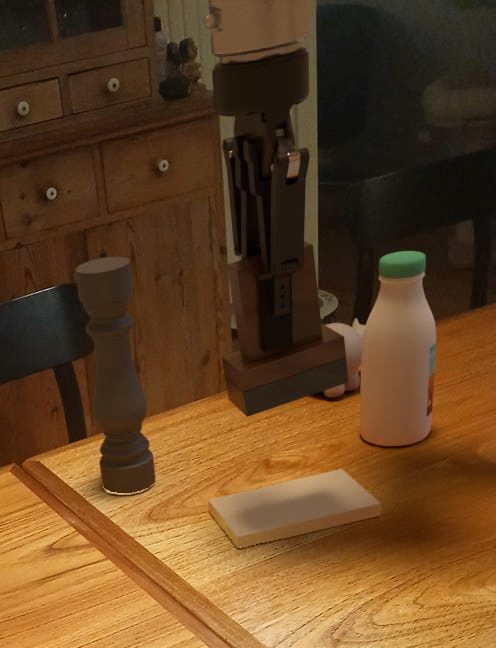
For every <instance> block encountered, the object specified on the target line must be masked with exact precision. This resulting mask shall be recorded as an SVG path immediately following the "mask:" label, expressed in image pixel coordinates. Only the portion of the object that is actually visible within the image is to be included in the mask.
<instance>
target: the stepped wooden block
mask: <svg viewBox="0 0 496 648" xmlns="http://www.w3.org/2000/svg"><path fill="white" fill-rule="evenodd" d="M226 267H227V275H228V280H229V287H230V295H231V299H232V307H233V311H234V318H235V325H236V332H237V338H238V344H239V350H237V351H234V352H231V353H228V354H225V355H223V356H221V362H222V368H223V373H224V380H225V387H226V392H227V398H228V401H229V402H230V403H232V404H233V405H234V406H235V407H236V408H237V409H238V410H239V411H240V412H241V413H242V414H243V415H245V417H247V418H248V417H252V416H254V415H257V414H260V413H263V412H265V411H268V410H271V409H272V410H273V409H274V408H277V407H280V406H283V405H286V404H290V403H293V402H295V401H298V400H301V399H304V398H307V397H310V396H313V395H316V394H318V393H322V392H324V391H325V390H328V389H331V388H333V387H336V386H339V385H342V384H345V383H348V371H347V360H346V351H345V340H344V336H342V335H341V334H339V333H337V332H336V331H334V330H332V329H331V328H329V327H327V326H326V325H327V324H325V323H322V317H321V308H320V298H319V289H318V288H319V287H318V280H317V271H316V270H317V269H316V260H315V251H314V245H313V244H311V243H309V242H308V241H305V240H304V263H303V269H302V270H301V271H297V272H294V273H293V274H291V281H292V322H293V346H290V347H286V348H281V349H277V350H273V351H269V352H263V351H262V346H261V323H260V299H259V282H257V281H256V278H255V274H258V273H262V272H263V268H262V256H261V253H260V254H257V255H254V256H251V257H249V258H246V259H243V260H241V259H240V260H237V261H234V262H231V263H228V264H227V265H226Z"/></svg>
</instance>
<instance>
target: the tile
mask: <svg viewBox="0 0 496 648" xmlns="http://www.w3.org/2000/svg"><path fill="white" fill-rule="evenodd" d="M207 501H208V512H209V514H210V515H211V517H212V518H213V519H214V520H215V521H216V523H217V524H218V525H219V527H220V528H221V530H222V531H223V530H224V531H225V532H224V531H223V532H224V533H225V535H226V534H227V535H228V536H227V535H226V536H227V537H228V539H229V540H230V539H231V540H232V541H233V542H234V544H235V545H236V546H235V545H234V544H233V545H234V546H235V548H236V547H237V548H240V547H244V546H245V547H246V546H250V545H254V546H257V545H256V544H258V545H260V544H259V543H263V544H266V543H265V542H267V543H270V542H269V541H271V542H275V541H279V539H280V540H284V539H288V538H292V537H296V536H300V535H305V534H308V533H309V534H310V533H314V532H317V531H321V530H327V529H330V528H334V527H338V526H344V525H346V524H347V525H348V524H351V523H355V522H356V523H357V522H359V521H364V520H368V519H372V518H378V517H380V516H381V509H382V508H381V506H382V505H381V504H382V503H381V501H379V500H378V499H377V498H376V497H375V496H374V495H372V493H370V492H369V491H368V490H366V488H364V487H363V486H362V485H361V484H360V483H359V482H358V481H357V480H356V479H355V478H354V477H352V476H351V475H350V474H349V473H347V472H346V471H345V470H344V469H343V468H340V469H334V470H330V471H326V472H322V473H317V474H313V475H309V476H305V477H300V478H296V479H291V480H287V481H283V482H279V483H275V484H270V485H266V486H261V487H257V488H253V489H248V490H245V491H241V492H235V493H231V494H227V495H224V496H219V497H214V498H211V499H208V500H207ZM231 540H230V541H231ZM274 540H275V541H274ZM232 541H231V542H232ZM233 542H232V543H233ZM250 547H251V546H250ZM237 548H236V549H237ZM246 548H247V547H246Z"/></svg>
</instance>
